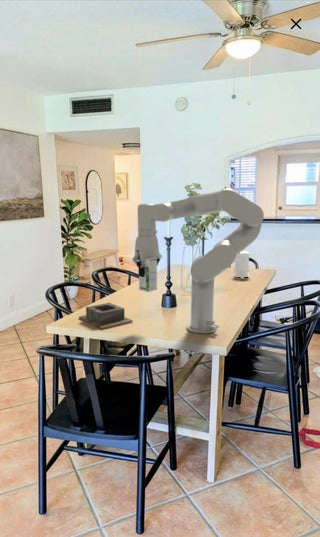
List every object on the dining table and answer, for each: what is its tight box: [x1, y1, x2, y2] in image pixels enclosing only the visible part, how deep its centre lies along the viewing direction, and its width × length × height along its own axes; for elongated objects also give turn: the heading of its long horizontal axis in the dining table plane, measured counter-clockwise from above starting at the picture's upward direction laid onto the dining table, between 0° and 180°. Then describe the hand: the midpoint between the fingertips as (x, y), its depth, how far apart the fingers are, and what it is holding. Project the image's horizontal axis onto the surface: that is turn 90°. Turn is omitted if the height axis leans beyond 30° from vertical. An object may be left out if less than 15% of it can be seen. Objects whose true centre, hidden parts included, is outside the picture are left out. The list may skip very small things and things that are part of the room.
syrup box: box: [138, 257, 158, 293], centre depth 167 cm, size 6×6×14 cm
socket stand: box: [78, 302, 133, 330], centre depth 178 cm, size 20×16×6 cm
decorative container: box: [232, 250, 251, 278], centre depth 279 cm, size 12×12×18 cm
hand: (147, 275), depth 167 cm, fingers closed on syrup box, 6 cm apart
